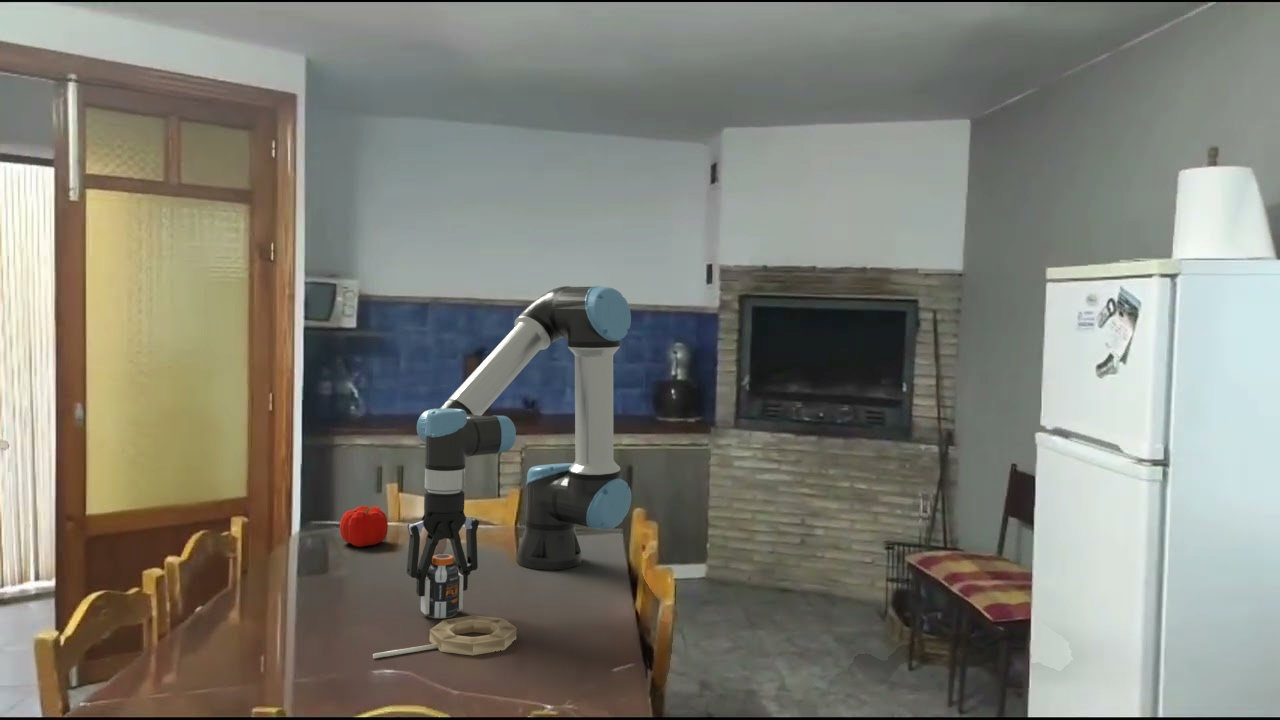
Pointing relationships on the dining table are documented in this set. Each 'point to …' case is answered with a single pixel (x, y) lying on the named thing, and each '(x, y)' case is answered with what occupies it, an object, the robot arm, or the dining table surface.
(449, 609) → the pill bottle
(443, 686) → the dining table surface
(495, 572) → the dining table surface
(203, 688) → the dining table surface
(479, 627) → the beige flat ring
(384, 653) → the white thin rod
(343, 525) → the tomato
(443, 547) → the egg
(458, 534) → the robot arm
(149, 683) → the dining table surface
